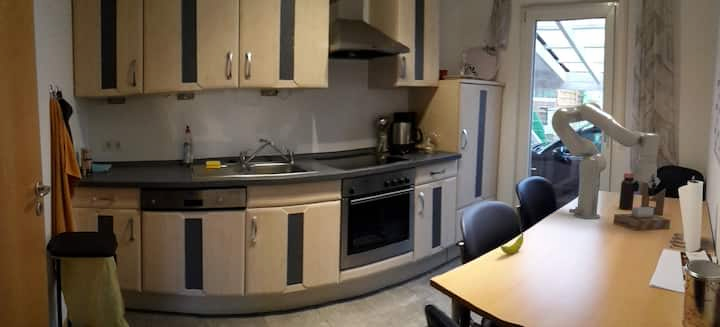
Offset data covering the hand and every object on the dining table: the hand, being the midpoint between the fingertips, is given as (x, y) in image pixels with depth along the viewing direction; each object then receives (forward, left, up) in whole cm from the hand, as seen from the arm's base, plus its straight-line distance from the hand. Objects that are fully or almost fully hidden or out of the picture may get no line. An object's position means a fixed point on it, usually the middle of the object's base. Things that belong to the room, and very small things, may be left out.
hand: (642, 193), depth 258 cm
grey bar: (0, -1, -15) cm, 15 cm away
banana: (-87, -29, -16) cm, 94 cm away
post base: (0, -1, -16) cm, 16 cm away
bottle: (+21, +33, -16) cm, 43 cm away
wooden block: (+27, +21, -16) cm, 38 cm away
